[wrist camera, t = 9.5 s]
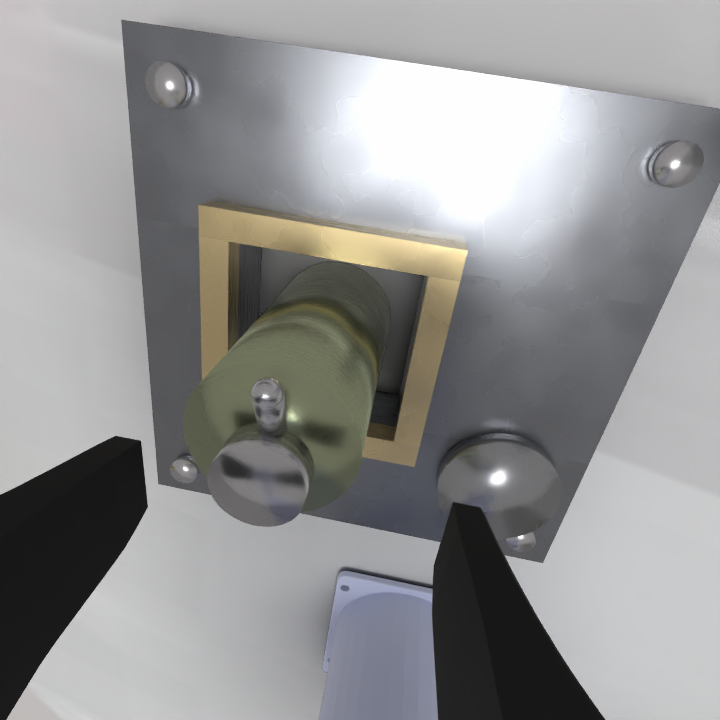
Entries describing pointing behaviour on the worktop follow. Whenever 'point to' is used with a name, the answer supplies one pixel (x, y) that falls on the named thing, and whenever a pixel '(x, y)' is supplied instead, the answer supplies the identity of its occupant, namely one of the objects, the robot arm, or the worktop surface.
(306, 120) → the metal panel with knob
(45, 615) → the robot arm
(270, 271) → the worktop surface
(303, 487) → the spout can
